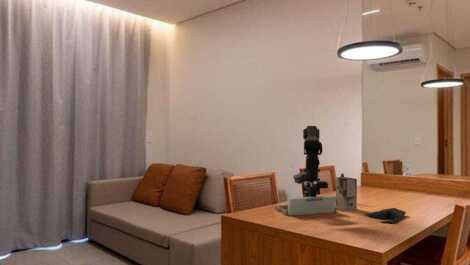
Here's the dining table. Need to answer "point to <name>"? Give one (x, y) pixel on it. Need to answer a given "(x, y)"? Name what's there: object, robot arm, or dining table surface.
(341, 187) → the coffee box
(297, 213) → the tailgate
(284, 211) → the brown shallow tray
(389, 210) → the dark slate chunk
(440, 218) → the dining table surface
